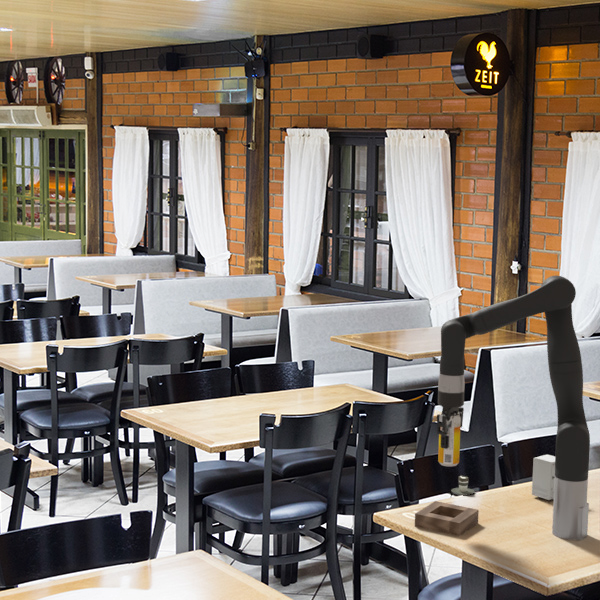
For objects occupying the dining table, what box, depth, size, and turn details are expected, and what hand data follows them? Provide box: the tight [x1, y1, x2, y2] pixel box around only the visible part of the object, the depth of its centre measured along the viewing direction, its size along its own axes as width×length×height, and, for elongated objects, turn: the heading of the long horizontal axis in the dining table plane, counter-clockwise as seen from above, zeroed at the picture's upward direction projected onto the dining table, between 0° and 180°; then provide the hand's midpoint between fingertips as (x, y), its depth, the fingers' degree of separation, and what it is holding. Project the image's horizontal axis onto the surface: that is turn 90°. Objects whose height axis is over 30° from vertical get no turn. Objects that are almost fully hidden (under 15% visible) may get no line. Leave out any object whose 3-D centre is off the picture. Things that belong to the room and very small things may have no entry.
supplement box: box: [531, 454, 555, 501], centre depth 315 cm, size 7×7×13 cm
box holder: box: [414, 500, 480, 537], centre depth 285 cm, size 14×14×4 cm
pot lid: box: [450, 475, 476, 496], centre depth 320 cm, size 12×12×5 cm
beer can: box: [437, 412, 461, 467], centre depth 282 cm, size 6×6×15 cm
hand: (449, 445), depth 283 cm, fingers closed on beer can, 6 cm apart
